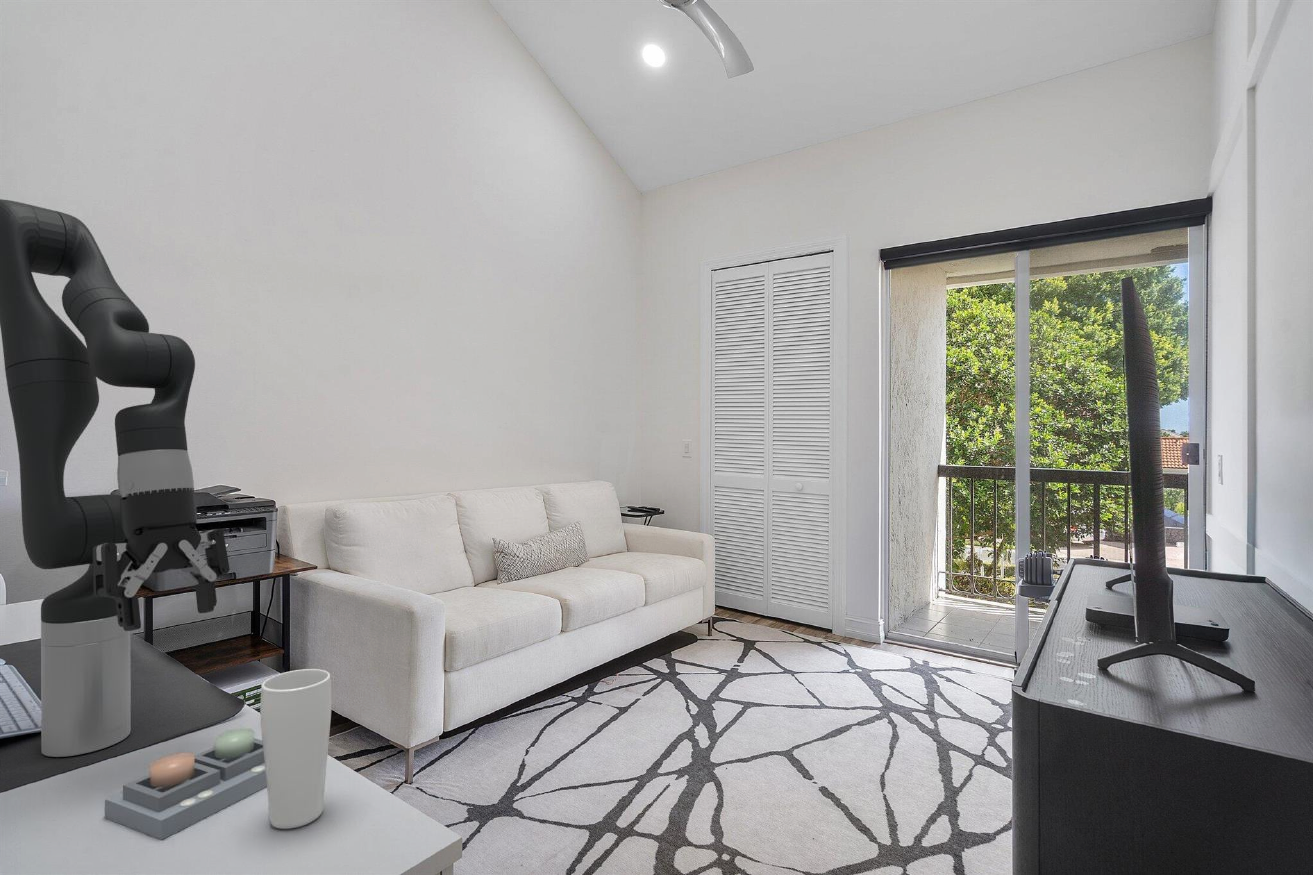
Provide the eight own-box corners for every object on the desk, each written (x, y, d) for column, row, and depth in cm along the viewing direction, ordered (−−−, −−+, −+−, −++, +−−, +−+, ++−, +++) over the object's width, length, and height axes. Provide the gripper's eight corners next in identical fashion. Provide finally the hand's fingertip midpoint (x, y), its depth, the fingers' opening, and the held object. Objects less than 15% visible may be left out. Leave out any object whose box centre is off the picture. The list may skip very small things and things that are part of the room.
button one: (206, 754, 80) (206, 739, 80) (239, 740, 84) (239, 726, 84) (228, 761, 78) (228, 745, 78) (261, 746, 82) (261, 731, 82)
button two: (141, 782, 74) (141, 765, 74) (180, 765, 77) (180, 750, 77) (164, 790, 72) (164, 773, 72) (202, 773, 76) (202, 756, 76)
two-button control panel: (104, 817, 73) (104, 785, 73) (239, 757, 87) (239, 730, 87) (161, 839, 69) (161, 805, 69) (293, 772, 83) (293, 744, 83)
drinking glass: (302, 839, 69) (301, 693, 69) (245, 831, 70) (244, 688, 70) (345, 804, 76) (344, 670, 76) (292, 797, 77) (292, 666, 77)
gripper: (196, 489, 92) (209, 609, 91) (71, 498, 79) (85, 638, 78) (233, 482, 89) (246, 605, 88) (109, 489, 76) (123, 635, 75)
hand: (170, 620), depth 83 cm, fingers open, 8 cm apart
